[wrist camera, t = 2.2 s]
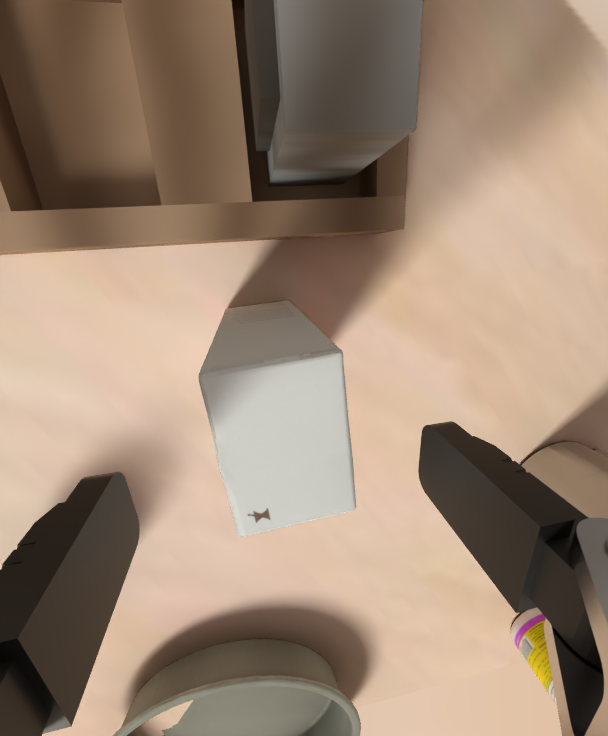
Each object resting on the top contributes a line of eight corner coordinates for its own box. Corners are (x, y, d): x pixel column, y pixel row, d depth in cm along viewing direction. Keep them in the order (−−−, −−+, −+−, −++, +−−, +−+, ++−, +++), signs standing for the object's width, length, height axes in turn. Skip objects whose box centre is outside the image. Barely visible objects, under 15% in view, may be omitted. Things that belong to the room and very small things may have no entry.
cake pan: (317, 590, 30) (328, 645, 25) (366, 715, 39) (381, 770, 34) (58, 685, 28) (25, 760, 24) (173, 791, 37) (163, 859, 33)
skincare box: (303, 383, 22) (359, 515, 11) (242, 394, 21) (234, 544, 10) (291, 295, 20) (347, 348, 9) (223, 305, 19) (189, 374, 8)
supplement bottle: (566, 614, 38) (712, 778, 26) (523, 646, 39) (645, 819, 27) (543, 593, 36) (691, 763, 24) (497, 627, 36) (619, 808, 24)
